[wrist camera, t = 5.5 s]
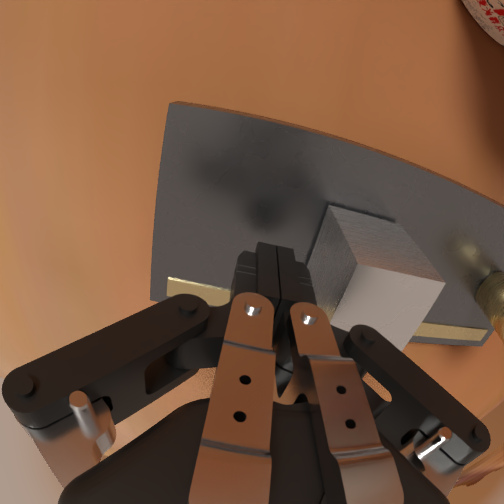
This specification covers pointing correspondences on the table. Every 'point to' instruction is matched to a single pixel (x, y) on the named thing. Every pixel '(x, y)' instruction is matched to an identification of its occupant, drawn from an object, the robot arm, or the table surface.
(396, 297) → the light grey block
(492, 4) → the teacup with lid
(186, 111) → the plate
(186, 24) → the table surface
